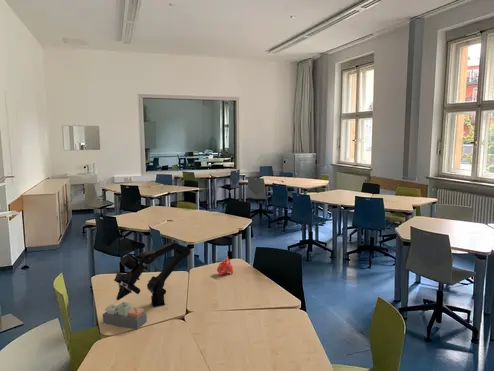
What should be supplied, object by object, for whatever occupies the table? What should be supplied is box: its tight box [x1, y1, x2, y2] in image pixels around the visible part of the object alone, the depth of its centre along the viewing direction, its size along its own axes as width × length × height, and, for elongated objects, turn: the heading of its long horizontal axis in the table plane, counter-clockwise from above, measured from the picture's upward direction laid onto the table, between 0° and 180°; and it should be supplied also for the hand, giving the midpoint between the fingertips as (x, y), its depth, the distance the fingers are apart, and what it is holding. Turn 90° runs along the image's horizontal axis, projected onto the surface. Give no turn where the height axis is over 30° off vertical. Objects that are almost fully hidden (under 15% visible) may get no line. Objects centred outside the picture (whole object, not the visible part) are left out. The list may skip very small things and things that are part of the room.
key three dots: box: [128, 307, 145, 318], centre depth 190 cm, size 6×6×7 cm
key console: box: [102, 311, 148, 330], centre depth 192 cm, size 8×21×5 cm, turn 71°
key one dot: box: [104, 303, 119, 314], centre depth 194 cm, size 6×6×7 cm
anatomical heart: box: [216, 256, 234, 276], centre depth 257 cm, size 9×12×12 cm
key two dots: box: [116, 301, 133, 316], centre depth 192 cm, size 6×6×7 cm
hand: (117, 299), depth 195 cm, fingers closed
